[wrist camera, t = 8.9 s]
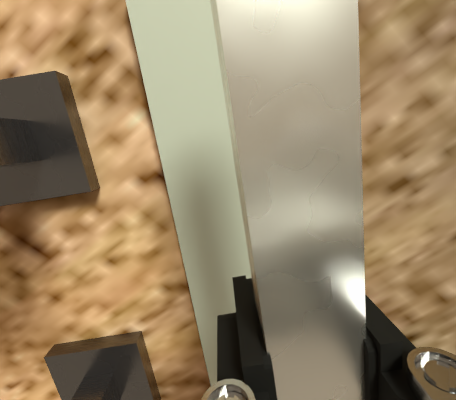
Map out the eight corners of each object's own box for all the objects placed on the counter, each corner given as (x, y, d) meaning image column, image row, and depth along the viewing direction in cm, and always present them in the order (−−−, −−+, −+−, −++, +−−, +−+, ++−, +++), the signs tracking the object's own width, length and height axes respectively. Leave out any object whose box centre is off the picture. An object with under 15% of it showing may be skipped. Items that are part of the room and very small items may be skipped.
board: (331, -37, 12) (338, -50, 11) (350, 400, 19) (356, 412, 18) (128, -4, 12) (122, -14, 11) (221, 420, 19) (221, 433, 18)
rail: (302, -130, 5) (351, -284, 3) (346, 551, 11) (373, 638, 9) (193, -112, 5) (179, -256, 3) (293, 560, 11) (309, 648, 9)
